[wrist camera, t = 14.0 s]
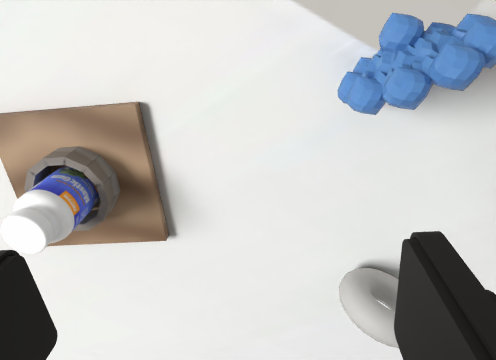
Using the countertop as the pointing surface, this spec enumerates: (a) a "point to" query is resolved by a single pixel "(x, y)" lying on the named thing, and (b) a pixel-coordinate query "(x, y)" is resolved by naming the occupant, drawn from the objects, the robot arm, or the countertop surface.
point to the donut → (371, 302)
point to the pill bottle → (50, 210)
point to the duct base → (104, 140)
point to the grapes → (419, 62)
